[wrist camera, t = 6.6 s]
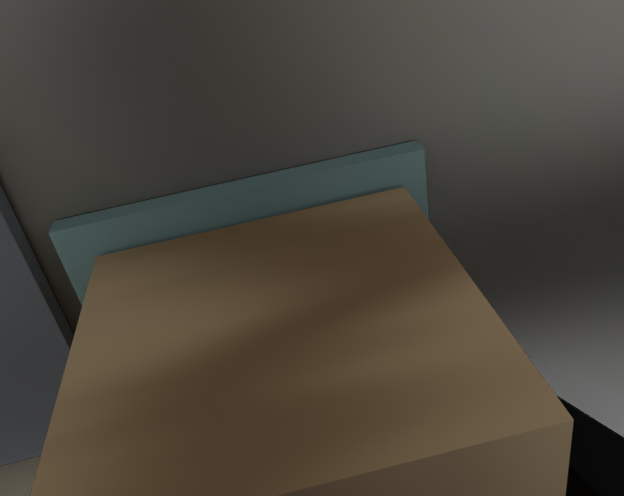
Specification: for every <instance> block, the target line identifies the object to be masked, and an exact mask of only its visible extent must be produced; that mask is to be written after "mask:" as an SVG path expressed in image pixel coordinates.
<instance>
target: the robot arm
mask: <svg viewBox="0 0 624 496" xmlns="http://www.w3.org/2000/svg"><path fill="white" fill-rule="evenodd" d="M556 396H557V395H556ZM557 397H558V396H557ZM558 399H559V400H560V401H561V403H562V404H563V405H564V407H565V408H566V410H567V411H568V412H569V414H570V415H571V416H572V418H573V419H574V422H573V431H572V440H571V449H570V459H569V468H568V477H567V486H566V496H624V437H622V436H621V435H619V434H617V433H616V432H614V431H613V430H611V429H609V428H608V427H606V426H605V425H603V424H601V423H600V422H598V421H597V420H595V419H593V418H592V417H590V416H589V415H587V414H585V413H584V412H582V411H581V410H579V409H577V408H576V407H574V406H573V405H571V404H569V403H568V402H566V401H565V400H563V399H561V398H560V397H558Z"/></svg>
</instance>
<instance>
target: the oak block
mask: <svg viewBox="0 0 624 496" xmlns="http://www.w3.org/2000/svg"><path fill="white" fill-rule="evenodd" d="M573 422H574V419H573V418H572V416H571V415H570V414H569V412H568V411H567V410H566V408H565V407H564V405H563V404H562V403H561V401H560V400H559V399H558V397H557V396H556V394H555V393H554V392H553V390H552V389H551V388H550V386H549V385H548V383H547V382H546V381H545V379H544V378H543V377H542V375H541V374H540V372H539V371H538V370H537V368H536V367H535V366H534V364H533V363H532V361H531V360H530V359H529V357H528V356H527V355H526V353H525V352H524V350H523V349H522V348H521V346H520V345H519V344H518V342H517V341H516V339H515V338H514V337H513V335H512V334H511V333H510V331H509V330H508V328H507V327H506V326H505V324H504V323H503V321H502V320H501V319H500V317H499V316H498V315H497V313H496V312H495V310H494V309H493V308H492V306H491V305H490V304H489V302H488V301H487V299H486V298H485V297H484V295H483V294H482V293H481V291H480V290H479V288H478V287H477V286H476V284H475V283H474V282H473V280H472V279H471V277H470V276H469V275H468V273H467V272H466V271H465V269H464V268H463V266H462V265H461V264H460V262H459V261H458V260H457V258H456V257H455V255H454V254H453V253H452V251H451V250H450V249H449V247H448V246H447V244H446V243H445V242H444V240H443V239H442V238H441V236H440V235H439V233H438V232H437V231H436V229H435V228H434V227H433V225H432V224H431V222H430V221H429V220H428V218H427V217H426V215H425V214H424V213H423V211H422V210H421V209H420V207H419V206H418V204H417V203H416V202H415V200H414V199H413V198H412V196H411V195H410V193H409V192H408V191H407V189H406V188H405V187H401V188H396V189H392V190H387V191H383V192H379V193H374V194H370V195H365V196H361V197H357V198H352V199H348V200H343V201H339V202H335V203H330V204H326V205H321V206H317V207H313V208H308V209H304V210H299V211H295V212H291V213H286V214H282V215H277V216H273V217H269V218H264V219H260V220H255V221H251V222H247V223H242V224H238V225H233V226H229V227H225V228H220V229H216V230H211V231H207V232H203V233H198V234H194V235H189V236H185V237H181V238H176V239H172V240H167V241H163V242H159V243H154V244H150V245H145V246H141V247H137V248H132V249H128V250H123V251H119V252H115V253H110V254H106V255H101V256H97V257H96V258H95V262H94V265H93V269H92V272H91V276H90V280H89V283H88V287H87V291H86V294H85V298H84V301H83V305H82V309H81V312H80V316H79V320H78V323H77V327H76V330H75V334H74V338H73V341H72V345H71V349H70V352H69V356H68V359H67V363H66V367H65V370H64V374H63V378H62V381H61V385H60V388H59V392H58V396H57V399H56V403H55V407H54V410H53V414H52V417H51V421H50V425H49V428H48V432H47V436H46V439H45V443H44V446H43V450H42V454H41V457H40V461H39V465H38V468H37V472H36V475H35V479H34V483H33V486H32V490H31V494H30V496H566V486H567V477H568V468H569V459H570V449H571V440H572V431H573Z"/></svg>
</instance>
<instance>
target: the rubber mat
mask: <svg viewBox="0 0 624 496" xmlns="http://www.w3.org/2000/svg"><path fill="white" fill-rule="evenodd" d="M401 187H405V188H406V189H407V191H408V192H409V193H410V195H411V196H412V198H413V199H414V200H415V202H416V203H417V204H418V206H419V207H420V209H421V210H422V211H423V213H424V214H425V215H426V217H427V218H428V220H429V211H428V194H427V178H426V161H425V148H424V147H423V146H422V145H421V144H420V143H419V142H418V141H417V140H415V141H410V142H406V143H401V144H397V145H392V146H388V147H383V148H379V149H374V150H370V151H365V152H361V153H356V154H352V155H347V156H343V157H338V158H334V159H329V160H325V161H320V162H316V163H312V164H307V165H303V166H298V167H294V168H289V169H285V170H280V171H276V172H271V173H267V174H262V175H258V176H253V177H249V178H244V179H240V180H235V181H231V182H226V183H222V184H217V185H213V186H208V187H204V188H199V189H195V190H190V191H186V192H181V193H177V194H172V195H168V196H163V197H159V198H154V199H150V200H145V201H141V202H136V203H132V204H128V205H123V206H119V207H114V208H110V209H105V210H101V211H96V212H92V213H87V214H83V215H78V216H74V217H69V218H65V219H60V220H56V221H53V223H52V225H51V228H50V230H49V232H48V234H49V236H50V238H51V240H52V243H53V245H54V247H55V249H56V251H57V253H58V256H59V258H60V260H61V262H62V264H63V266H64V269H65V271H66V273H67V275H68V277H69V279H70V281H71V284H72V286H73V288H74V290H75V292H76V294H77V297H78V299H79V301H80V303H81V305H83V301H84V298H85V294H86V291H87V287H88V283H89V280H90V276H91V272H92V269H93V265H94V262H95V258H96V257H97V256H101V255H106V254H110V253H115V252H119V251H123V250H128V249H132V248H137V247H141V246H145V245H150V244H154V243H159V242H163V241H167V240H172V239H176V238H181V237H185V236H189V235H194V234H198V233H203V232H207V231H211V230H216V229H220V228H225V227H229V226H233V225H238V224H242V223H247V222H251V221H255V220H260V219H264V218H269V217H273V216H277V215H282V214H286V213H291V212H295V211H299V210H304V209H308V208H313V207H317V206H321V205H326V204H330V203H335V202H339V201H343V200H348V199H352V198H357V197H361V196H365V195H370V194H374V193H379V192H383V191H387V190H392V189H396V188H401Z"/></svg>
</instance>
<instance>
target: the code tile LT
mask: <svg viewBox="0 0 624 496" xmlns="http://www.w3.org/2000/svg"><path fill="white" fill-rule="evenodd" d="M73 338H74V335H73V333H72V331H71V328H70V326H69V324H68V322H67V320H66V318H65V316H64V314H63V312H62V310H61V308H60V306H59V304H58V302H57V300H56V298H55V296H54V294H53V292H52V290H51V288H50V286H49V284H48V281H47V279H46V277H45V275H44V273H43V271H42V269H41V267H40V265H39V263H38V261H37V259H36V257H35V255H34V253H33V251H32V249H31V247H30V245H29V243H28V241H27V239H26V237H25V234H24V232H23V230H22V228H21V226H20V224H19V222H18V220H17V218H16V216H15V214H14V212H13V210H12V208H11V206H10V204H9V202H8V200H7V198H6V196H5V194H4V192H3V190H2V187H1V185H0V466H2V465H6V464H10V463H14V462H18V461H22V460H26V459H30V458H34V457H38V456H41V454H42V450H43V446H44V443H45V439H46V436H47V432H48V428H49V425H50V421H51V417H52V414H53V410H54V407H55V403H56V399H57V396H58V392H59V388H60V385H61V381H62V378H63V374H64V370H65V367H66V363H67V359H68V356H69V352H70V349H71V345H72V341H73Z"/></svg>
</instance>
